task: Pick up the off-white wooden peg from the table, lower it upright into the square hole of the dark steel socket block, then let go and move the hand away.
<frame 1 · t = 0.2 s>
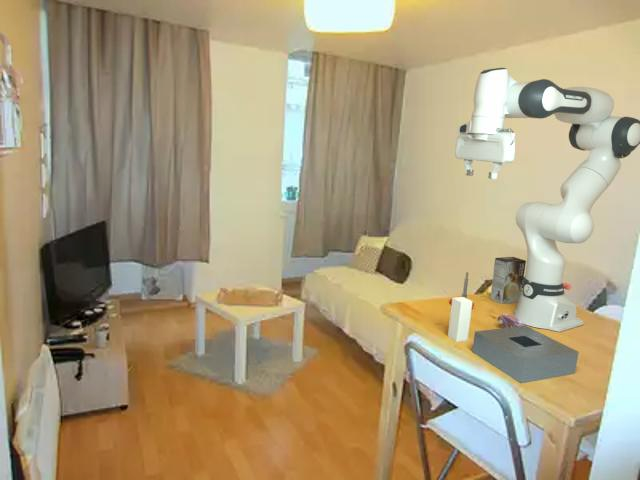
hand: (480, 177, 139), 47 cm above the table, tool pointing down, fingers open, 8 cm apart
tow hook: (461, 305, 173), on the table
video game controller: (512, 333, 149), on the table
peg: (457, 338, 142), on the table
coffee box: (504, 301, 180), on the table
socket block: (521, 362, 129), on the table
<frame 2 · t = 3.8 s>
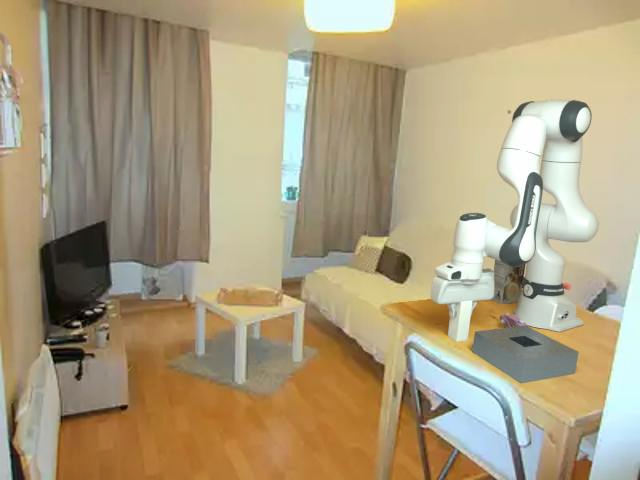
hand: (460, 315, 141), 7 cm above the table, tool pointing down, fingers closed on peg, 4 cm apart
peg: (457, 338, 142), on the table, touching gripper
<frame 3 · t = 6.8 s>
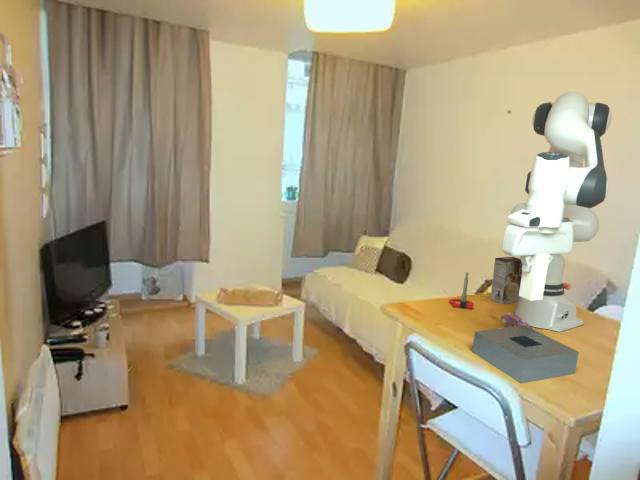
hand: (534, 271, 124), 25 cm above the table, tool pointing down, fingers closed on peg, 4 cm apart
peg: (530, 297, 125), point 18 cm above the table, touching gripper
when the fingers open (9 cm above the table, at t = 10.0 s): peg drops 1 cm, resting in socket block.
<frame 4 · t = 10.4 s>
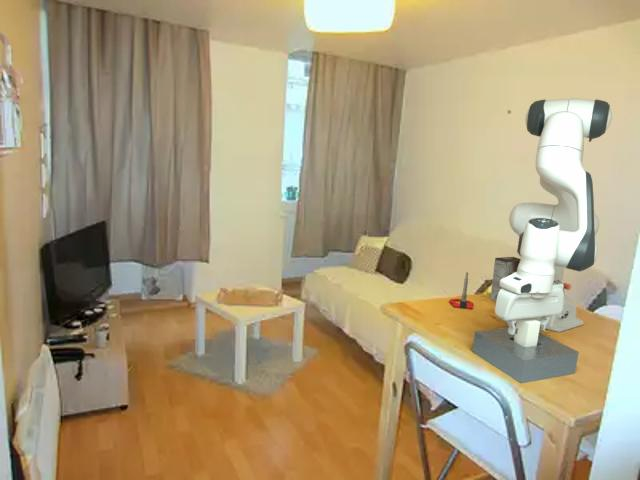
hand: (526, 332, 127), 9 cm above the table, tool pointing down, fingers open, 8 cm apart
peg: (522, 362, 129), resting in socket block
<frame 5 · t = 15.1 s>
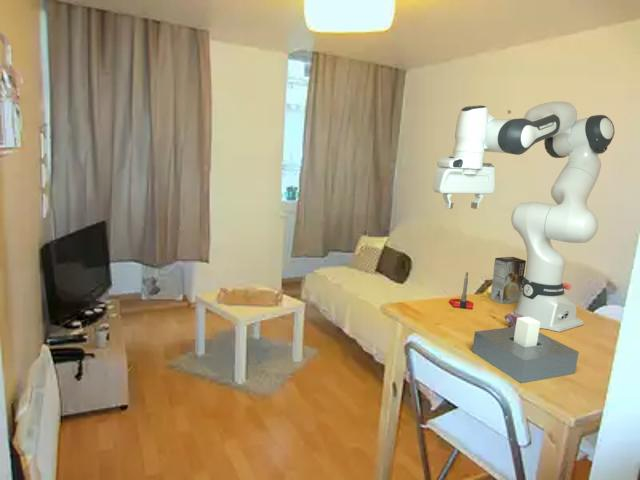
hand: (461, 208, 145), 37 cm above the table, tool pointing down, fingers open, 8 cm apart
at the end: peg 0.1 cm off-centre on the socket block, point 0.0 cm above the socket block's base; peg tilted 0°; the gripper is holding nothing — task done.
